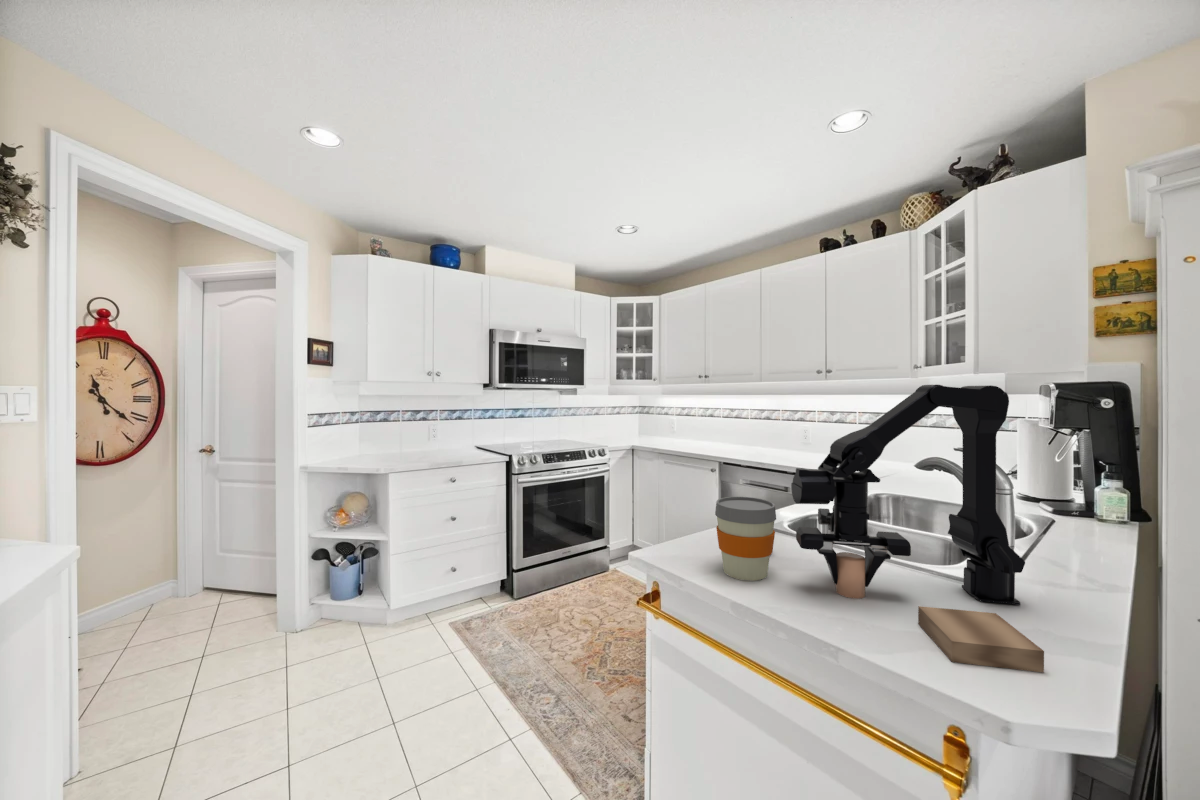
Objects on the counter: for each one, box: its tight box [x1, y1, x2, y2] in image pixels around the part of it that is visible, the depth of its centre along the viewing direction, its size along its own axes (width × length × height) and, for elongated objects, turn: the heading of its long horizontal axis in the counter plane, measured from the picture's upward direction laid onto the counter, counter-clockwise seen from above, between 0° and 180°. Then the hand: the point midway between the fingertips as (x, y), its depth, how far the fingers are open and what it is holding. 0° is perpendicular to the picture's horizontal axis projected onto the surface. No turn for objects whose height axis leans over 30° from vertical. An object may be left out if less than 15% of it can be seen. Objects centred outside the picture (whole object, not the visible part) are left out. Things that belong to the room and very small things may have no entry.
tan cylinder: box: [835, 551, 866, 600], centre depth 88 cm, size 5×5×7 cm
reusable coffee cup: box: [714, 496, 777, 582], centre depth 99 cm, size 13×13×15 cm
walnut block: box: [917, 605, 1045, 673], centre depth 70 cm, size 11×11×3 cm
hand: (850, 584), depth 88 cm, fingers closed on tan cylinder, 5 cm apart
